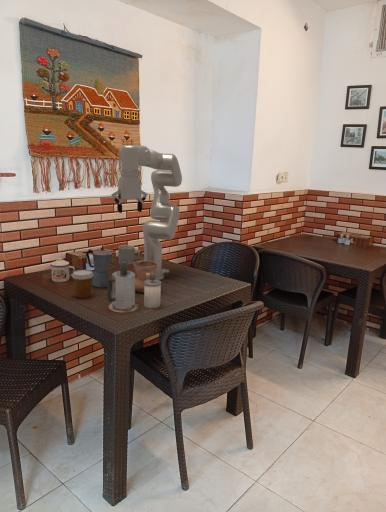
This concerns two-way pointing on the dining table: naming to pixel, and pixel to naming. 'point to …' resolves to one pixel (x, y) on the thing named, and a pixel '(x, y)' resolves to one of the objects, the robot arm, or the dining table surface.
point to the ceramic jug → (143, 273)
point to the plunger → (123, 267)
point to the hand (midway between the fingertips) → (129, 212)
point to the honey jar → (82, 283)
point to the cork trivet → (123, 311)
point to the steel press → (122, 291)
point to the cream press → (152, 292)
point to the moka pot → (100, 266)
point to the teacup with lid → (60, 270)
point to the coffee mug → (127, 254)
